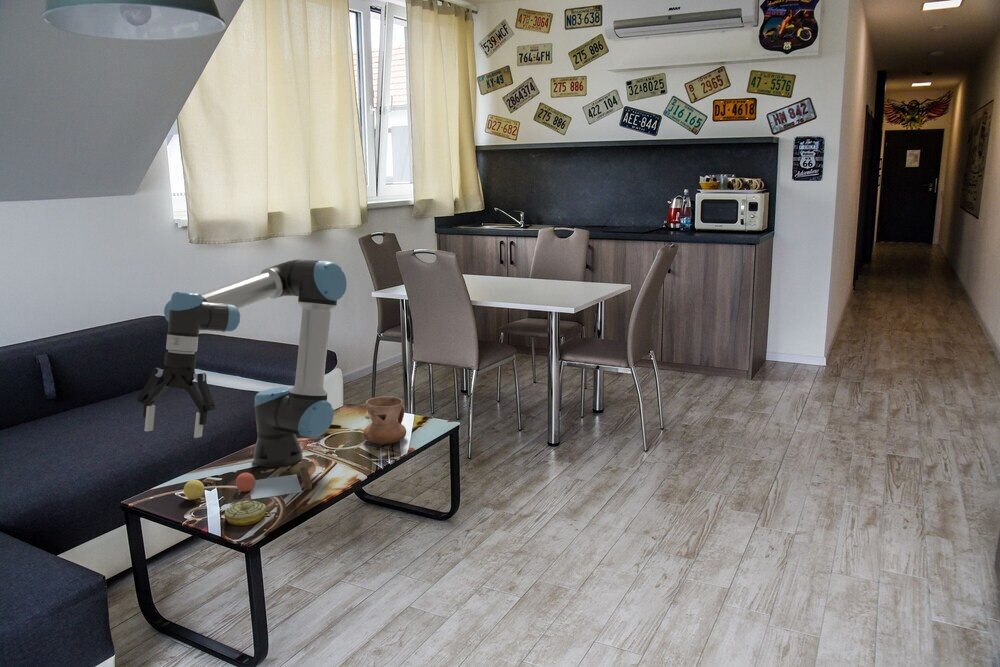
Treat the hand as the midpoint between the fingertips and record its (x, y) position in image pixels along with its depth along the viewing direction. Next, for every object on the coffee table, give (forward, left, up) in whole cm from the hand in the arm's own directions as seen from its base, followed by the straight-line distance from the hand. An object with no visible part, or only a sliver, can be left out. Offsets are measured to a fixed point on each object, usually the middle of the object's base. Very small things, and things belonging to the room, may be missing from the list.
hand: (173, 434), depth 203 cm
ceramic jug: (-64, -43, -25) cm, 81 cm away
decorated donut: (-16, +3, -25) cm, 30 cm away
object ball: (-17, -16, -22) cm, 32 cm away
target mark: (-25, -16, -25) cm, 39 cm away
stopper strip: (-34, -16, -25) cm, 45 cm away
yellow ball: (-3, -16, -22) cm, 27 cm away
